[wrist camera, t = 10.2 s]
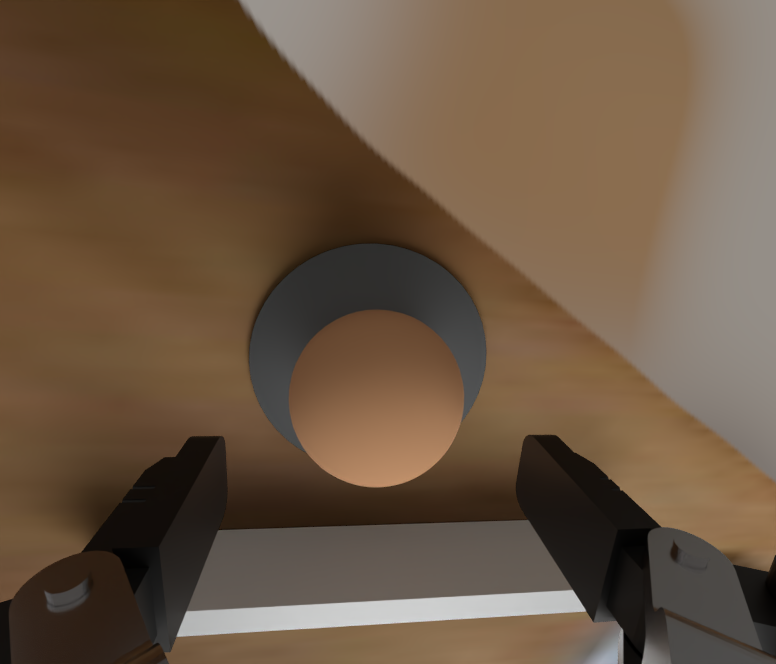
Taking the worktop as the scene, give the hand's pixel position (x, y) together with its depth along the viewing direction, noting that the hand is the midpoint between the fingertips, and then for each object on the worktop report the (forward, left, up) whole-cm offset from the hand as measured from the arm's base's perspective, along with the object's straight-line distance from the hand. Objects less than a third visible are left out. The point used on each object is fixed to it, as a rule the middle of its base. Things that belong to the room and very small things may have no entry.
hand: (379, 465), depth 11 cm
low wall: (-6, -6, -7) cm, 11 cm away
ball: (0, 0, -4) cm, 4 cm away
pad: (0, 0, -7) cm, 7 cm away
